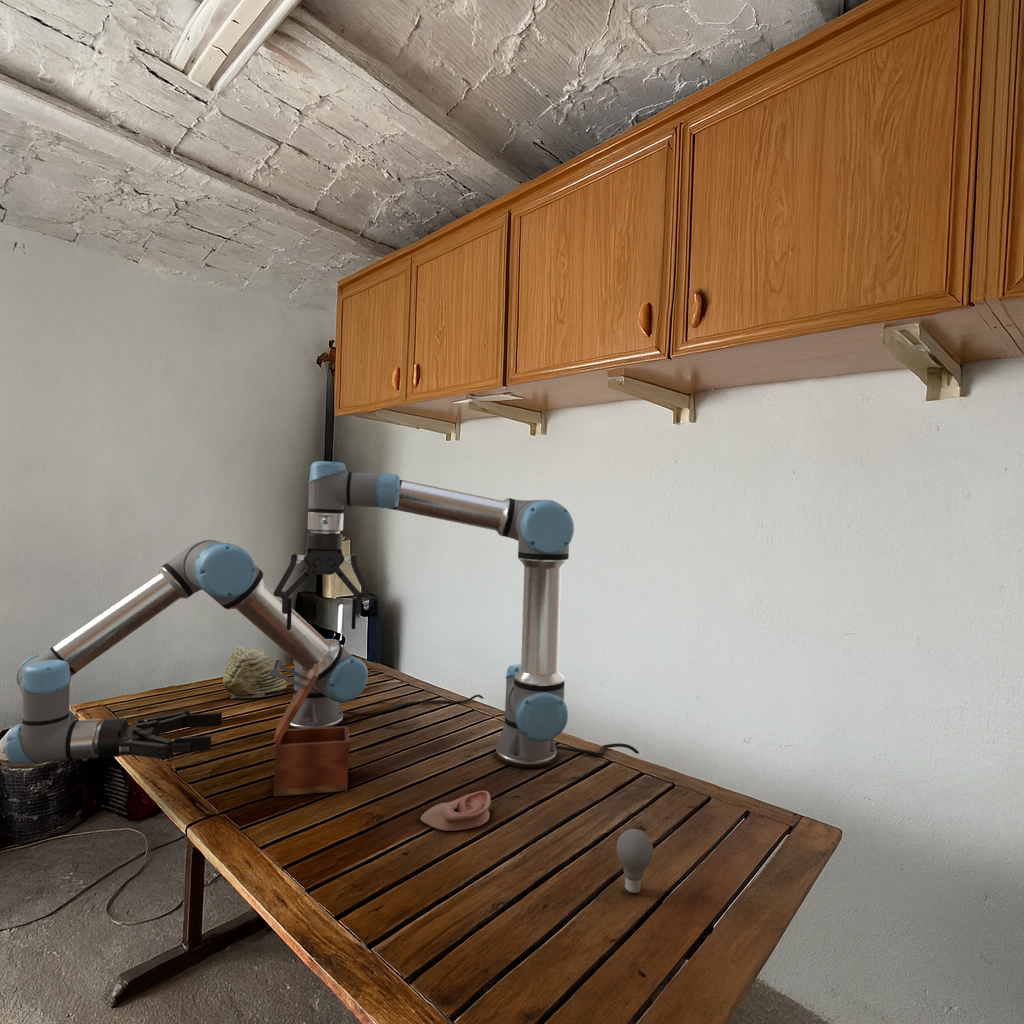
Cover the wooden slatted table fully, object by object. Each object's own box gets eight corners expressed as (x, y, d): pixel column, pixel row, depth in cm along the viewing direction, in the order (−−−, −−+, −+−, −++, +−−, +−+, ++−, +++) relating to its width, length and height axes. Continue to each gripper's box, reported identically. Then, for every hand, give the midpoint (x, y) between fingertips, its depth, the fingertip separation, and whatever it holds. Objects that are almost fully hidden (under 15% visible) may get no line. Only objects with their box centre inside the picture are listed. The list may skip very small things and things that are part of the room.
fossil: (218, 695, 195) (220, 647, 195) (278, 685, 208) (279, 640, 207) (228, 703, 189) (230, 653, 188) (289, 692, 201) (290, 645, 201)
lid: (318, 665, 144) (282, 647, 142) (318, 677, 135) (279, 658, 132) (281, 727, 142) (243, 710, 140) (278, 744, 133) (237, 725, 131)
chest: (346, 771, 146) (348, 725, 146) (347, 790, 137) (349, 741, 137) (277, 776, 142) (278, 729, 142) (273, 796, 133) (275, 746, 133)
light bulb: (610, 879, 108) (613, 822, 108) (644, 879, 109) (647, 822, 109) (619, 902, 102) (622, 840, 102) (655, 901, 103) (658, 840, 103)
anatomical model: (415, 806, 123) (434, 781, 134) (414, 826, 123) (433, 799, 134) (481, 816, 120) (495, 789, 132) (480, 836, 120) (494, 808, 132)
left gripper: (121, 733, 140) (225, 726, 146) (78, 784, 116) (205, 773, 122) (121, 700, 140) (225, 694, 146) (78, 743, 116) (205, 735, 122)
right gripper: (262, 531, 132) (259, 632, 132) (384, 534, 139) (380, 630, 139) (266, 529, 139) (262, 625, 140) (381, 532, 146) (377, 624, 146)
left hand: (216, 730), depth 134 cm, fingers open, 13 cm apart
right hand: (321, 628), depth 139 cm, fingers open, 13 cm apart
